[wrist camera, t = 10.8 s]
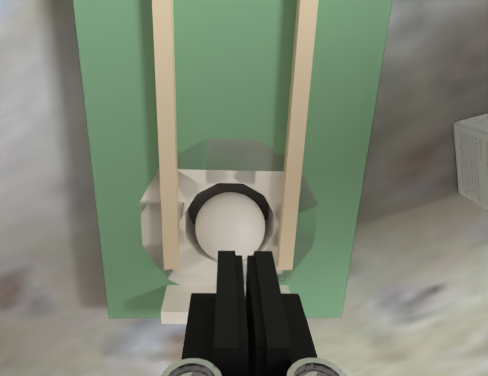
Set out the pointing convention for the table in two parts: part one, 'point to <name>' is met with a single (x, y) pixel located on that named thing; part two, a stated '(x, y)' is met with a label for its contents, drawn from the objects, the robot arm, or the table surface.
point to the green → (227, 137)
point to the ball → (230, 225)
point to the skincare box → (472, 158)
